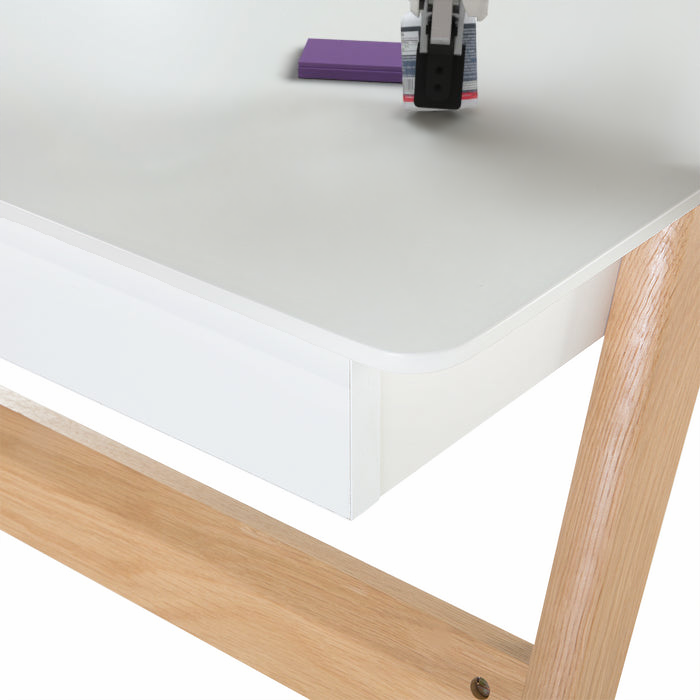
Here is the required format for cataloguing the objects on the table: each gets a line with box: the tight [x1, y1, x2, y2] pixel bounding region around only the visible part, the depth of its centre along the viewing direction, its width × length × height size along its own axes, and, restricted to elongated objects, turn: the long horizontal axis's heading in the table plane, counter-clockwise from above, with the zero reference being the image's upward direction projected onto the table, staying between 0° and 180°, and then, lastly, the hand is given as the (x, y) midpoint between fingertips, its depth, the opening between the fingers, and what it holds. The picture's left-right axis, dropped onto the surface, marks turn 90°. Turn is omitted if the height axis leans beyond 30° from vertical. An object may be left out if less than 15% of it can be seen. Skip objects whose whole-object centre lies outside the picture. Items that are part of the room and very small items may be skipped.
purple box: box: [297, 37, 403, 84], centre depth 96 cm, size 12×6×1 cm, turn 83°
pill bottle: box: [400, 0, 479, 112], centre depth 86 cm, size 5×5×9 cm
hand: (437, 103), depth 84 cm, fingers closed
